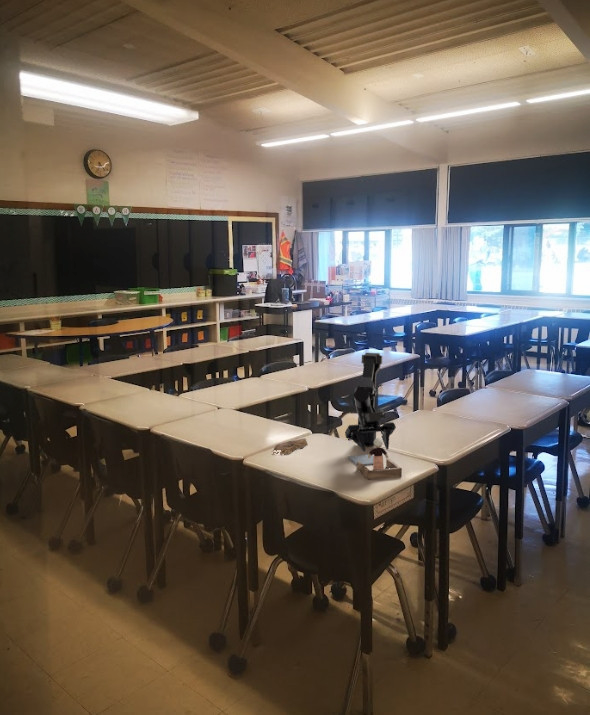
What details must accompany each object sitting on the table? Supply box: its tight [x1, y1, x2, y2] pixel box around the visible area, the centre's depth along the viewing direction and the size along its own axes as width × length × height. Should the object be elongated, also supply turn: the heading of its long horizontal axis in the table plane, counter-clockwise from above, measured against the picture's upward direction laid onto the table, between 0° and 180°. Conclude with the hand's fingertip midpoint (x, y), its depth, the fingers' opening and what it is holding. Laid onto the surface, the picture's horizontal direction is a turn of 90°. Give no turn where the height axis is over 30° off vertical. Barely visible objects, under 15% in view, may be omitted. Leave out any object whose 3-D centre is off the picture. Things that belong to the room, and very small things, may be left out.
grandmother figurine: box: [367, 437, 389, 470], centre depth 221 cm, size 8×4×13 cm, turn 109°
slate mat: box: [347, 453, 374, 467], centre depth 234 cm, size 10×10×1 cm
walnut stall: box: [356, 458, 403, 481], centre depth 221 cm, size 11×13×3 cm
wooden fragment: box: [272, 438, 309, 456], centre depth 251 cm, size 26×11×1 cm, turn 145°
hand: (376, 450), depth 222 cm, fingers open, 9 cm apart
